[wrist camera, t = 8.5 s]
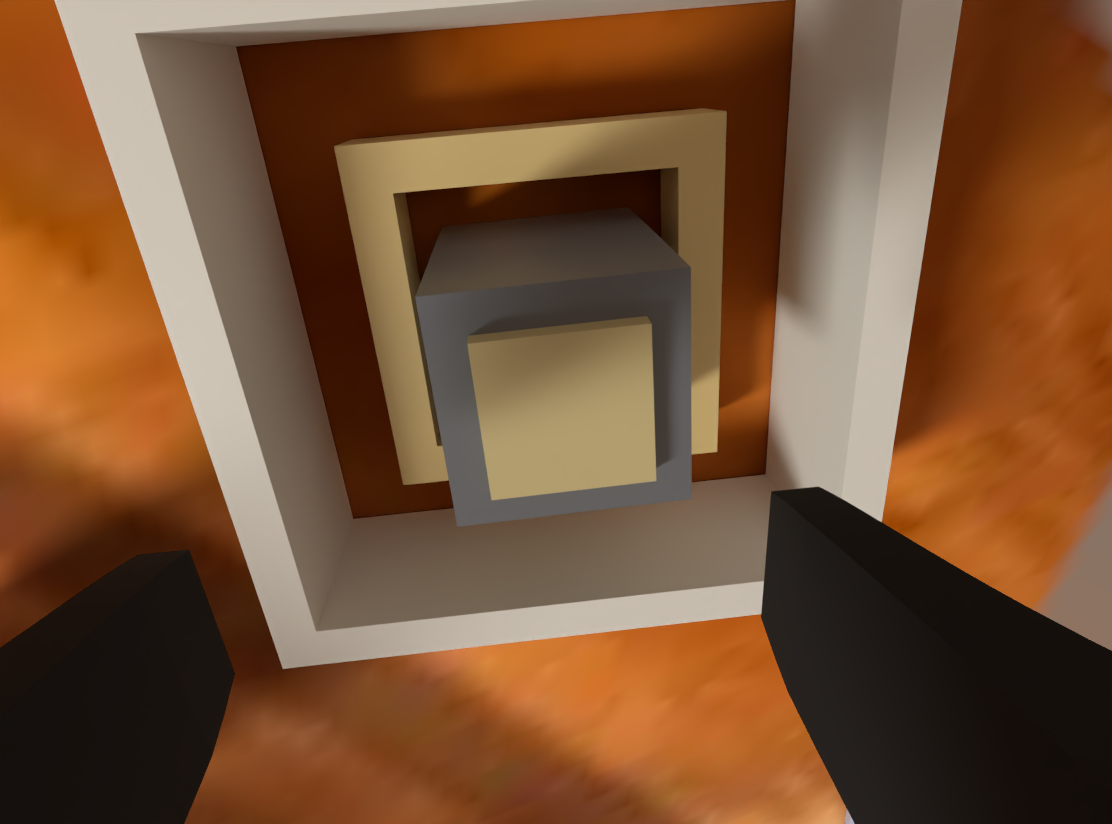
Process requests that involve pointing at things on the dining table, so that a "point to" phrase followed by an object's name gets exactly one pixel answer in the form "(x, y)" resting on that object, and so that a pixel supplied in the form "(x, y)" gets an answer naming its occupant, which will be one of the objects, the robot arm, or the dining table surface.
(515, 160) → the cream square frame
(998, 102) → the dining table surface
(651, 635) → the dining table surface
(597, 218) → the block
